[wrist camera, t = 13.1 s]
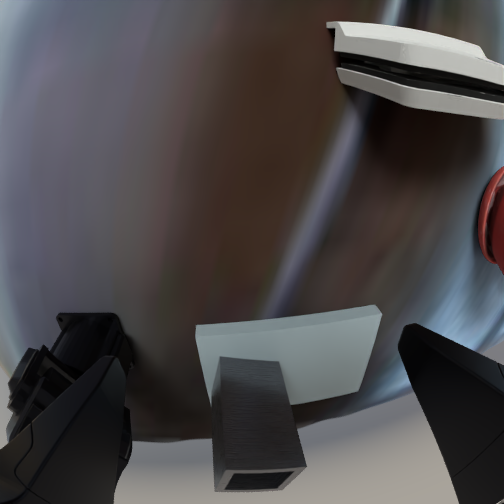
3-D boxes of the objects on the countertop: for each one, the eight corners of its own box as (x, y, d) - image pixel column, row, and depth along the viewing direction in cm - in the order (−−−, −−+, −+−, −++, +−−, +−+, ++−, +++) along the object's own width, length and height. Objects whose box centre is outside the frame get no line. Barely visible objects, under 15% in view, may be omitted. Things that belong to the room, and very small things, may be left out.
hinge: (468, 43, 14) (549, 75, 7) (468, 84, 18) (543, 125, 10) (321, 22, 14) (413, 23, 7) (328, 79, 17) (414, 119, 10)
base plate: (212, 402, 27) (213, 436, 23) (196, 325, 23) (193, 363, 18) (353, 381, 28) (367, 410, 24) (374, 304, 24) (398, 333, 20)
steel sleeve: (211, 392, 24) (214, 491, 15) (219, 356, 22) (225, 469, 13) (263, 396, 25) (281, 489, 16) (278, 361, 23) (306, 466, 14)
